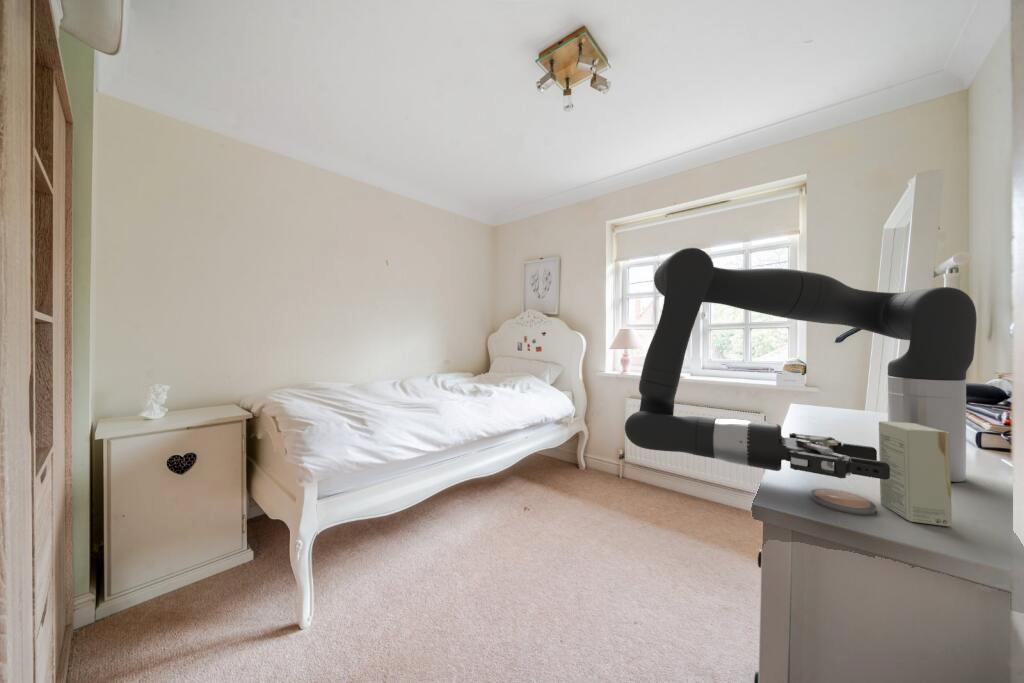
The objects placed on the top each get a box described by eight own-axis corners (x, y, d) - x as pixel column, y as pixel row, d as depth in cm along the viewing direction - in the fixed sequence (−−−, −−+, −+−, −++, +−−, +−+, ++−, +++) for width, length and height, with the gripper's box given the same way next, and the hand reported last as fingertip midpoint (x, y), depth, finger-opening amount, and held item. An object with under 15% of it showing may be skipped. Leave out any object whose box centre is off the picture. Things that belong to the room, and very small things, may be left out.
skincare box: (954, 528, 45) (954, 432, 45) (908, 523, 46) (908, 429, 46) (916, 506, 51) (916, 421, 51) (877, 502, 52) (877, 419, 52)
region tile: (805, 489, 57) (805, 484, 57) (864, 499, 53) (864, 494, 53) (816, 507, 50) (816, 501, 50) (884, 519, 47) (884, 513, 47)
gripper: (742, 429, 55) (894, 448, 45) (749, 414, 66) (872, 426, 56) (742, 477, 55) (895, 507, 45) (749, 454, 66) (872, 473, 56)
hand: (882, 462), depth 50 cm, fingers open, 8 cm apart
